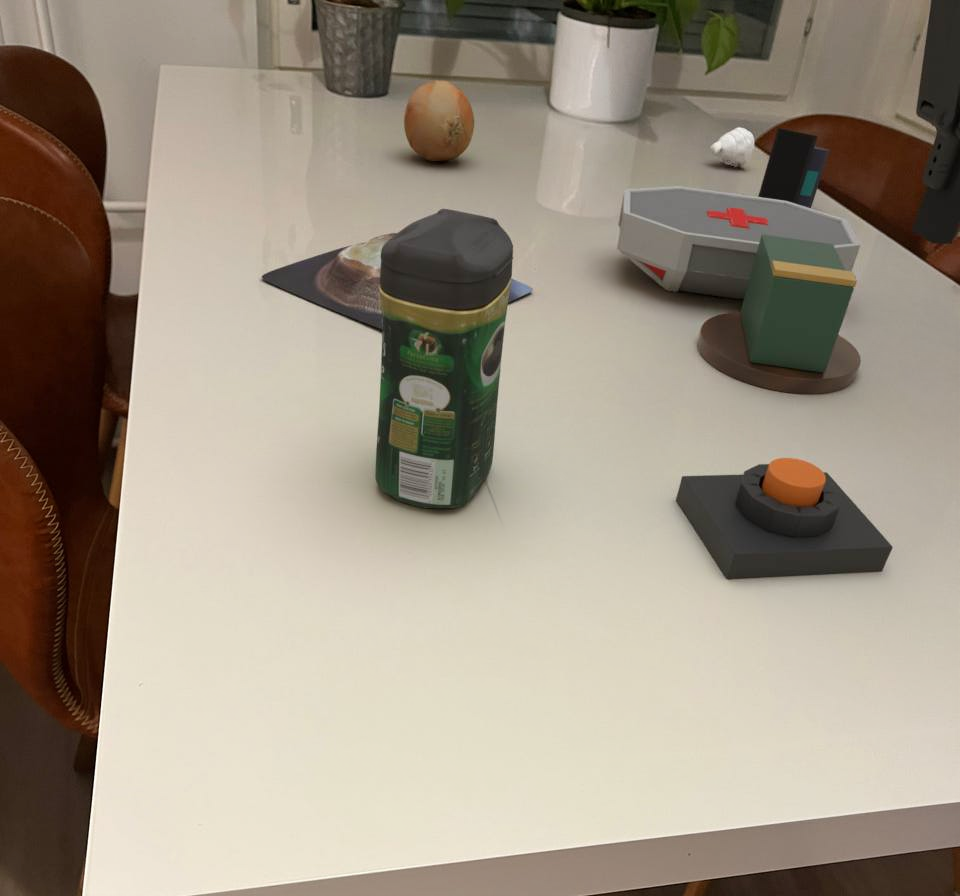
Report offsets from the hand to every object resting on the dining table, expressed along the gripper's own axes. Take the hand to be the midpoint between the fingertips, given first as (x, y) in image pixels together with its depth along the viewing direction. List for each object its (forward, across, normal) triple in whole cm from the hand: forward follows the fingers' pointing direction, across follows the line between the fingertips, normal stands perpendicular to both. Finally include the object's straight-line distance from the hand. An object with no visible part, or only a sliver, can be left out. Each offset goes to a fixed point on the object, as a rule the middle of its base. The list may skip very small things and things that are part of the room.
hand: (931, 236), depth 69 cm
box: (+17, +4, +21) cm, 27 cm away
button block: (+18, -11, -9) cm, 23 cm away
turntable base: (+19, +4, +21) cm, 28 cm away
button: (+15, -11, -9) cm, 20 cm away
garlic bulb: (+20, +28, +88) cm, 95 cm away
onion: (+19, -18, +85) cm, 89 cm away
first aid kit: (+19, +6, +40) cm, 44 cm away
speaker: (+20, +27, +68) cm, 75 cm away
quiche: (+18, -31, +38) cm, 53 cm away
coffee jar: (+18, -35, 0) cm, 39 cm away
